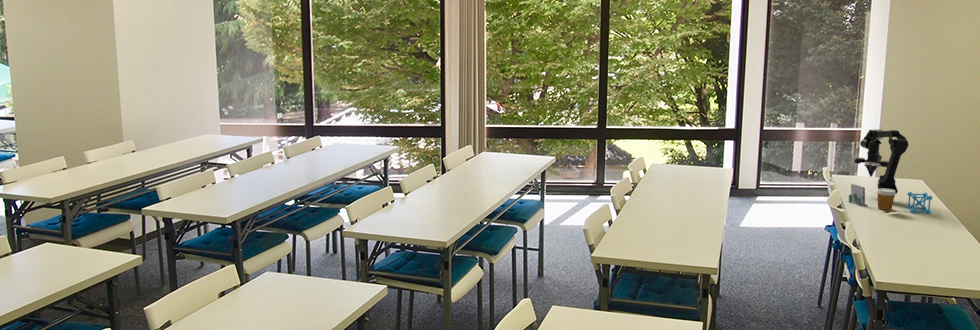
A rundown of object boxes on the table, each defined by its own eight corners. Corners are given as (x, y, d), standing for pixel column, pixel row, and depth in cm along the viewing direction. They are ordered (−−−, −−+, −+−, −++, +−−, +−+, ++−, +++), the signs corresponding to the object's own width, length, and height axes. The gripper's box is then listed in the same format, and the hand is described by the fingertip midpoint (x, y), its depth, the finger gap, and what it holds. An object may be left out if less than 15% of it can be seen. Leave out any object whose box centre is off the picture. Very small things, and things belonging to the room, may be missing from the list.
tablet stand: (860, 202, 448) (861, 192, 447) (876, 207, 435) (877, 197, 434) (844, 203, 445) (845, 193, 444) (861, 208, 432) (861, 198, 431)
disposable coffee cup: (889, 209, 430) (892, 188, 428) (897, 213, 421) (899, 192, 419) (872, 209, 431) (874, 187, 429) (878, 213, 422) (880, 191, 420)
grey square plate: (852, 201, 444) (852, 183, 442) (865, 205, 435) (864, 187, 433) (851, 202, 444) (850, 184, 442) (863, 206, 435) (863, 187, 432)
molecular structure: (931, 214, 420) (933, 196, 418) (911, 213, 422) (913, 195, 420) (925, 209, 430) (926, 192, 428) (905, 209, 432) (907, 191, 430)
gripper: (895, 151, 456) (892, 177, 459) (862, 147, 469) (860, 172, 472) (888, 153, 448) (885, 179, 451) (855, 149, 462) (852, 175, 465)
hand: (871, 176), depth 460 cm, fingers closed
